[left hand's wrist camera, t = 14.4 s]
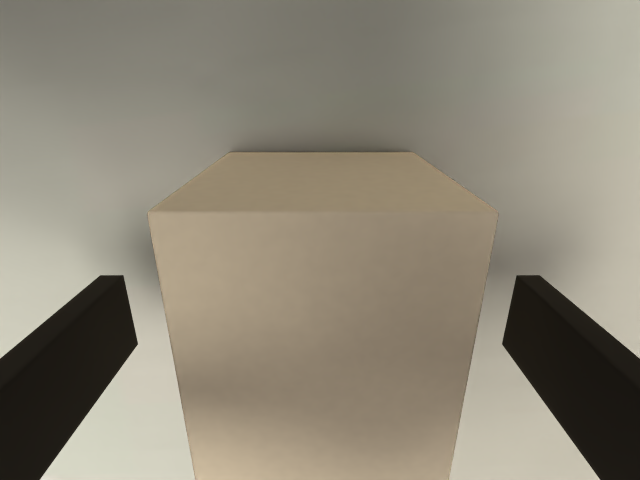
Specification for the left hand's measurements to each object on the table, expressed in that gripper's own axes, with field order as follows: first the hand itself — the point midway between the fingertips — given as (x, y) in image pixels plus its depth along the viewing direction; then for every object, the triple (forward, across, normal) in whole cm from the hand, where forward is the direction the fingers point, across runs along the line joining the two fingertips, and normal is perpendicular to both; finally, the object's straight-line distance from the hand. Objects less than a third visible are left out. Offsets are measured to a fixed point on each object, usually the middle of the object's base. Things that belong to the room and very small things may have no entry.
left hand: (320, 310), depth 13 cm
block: (+4, 0, 0) cm, 4 cm away
